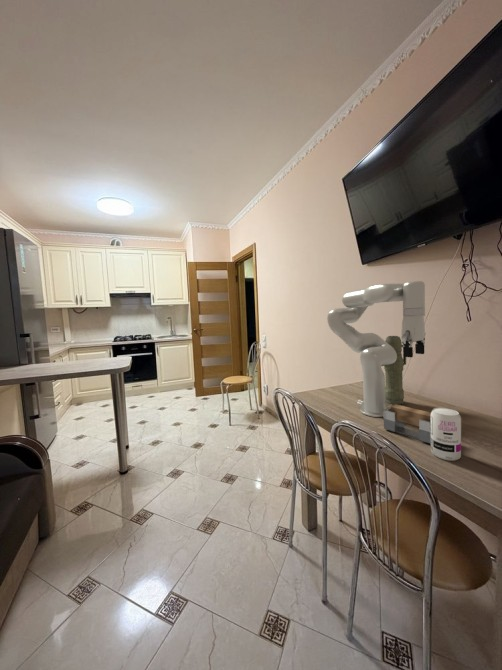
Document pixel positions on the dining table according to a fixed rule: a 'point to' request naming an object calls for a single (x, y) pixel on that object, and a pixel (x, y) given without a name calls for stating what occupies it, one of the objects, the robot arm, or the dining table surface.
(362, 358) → the robot arm
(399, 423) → the bracket stand
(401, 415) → the brown wooden block
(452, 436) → the supplement can
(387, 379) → the thermos
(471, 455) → the dining table surface
